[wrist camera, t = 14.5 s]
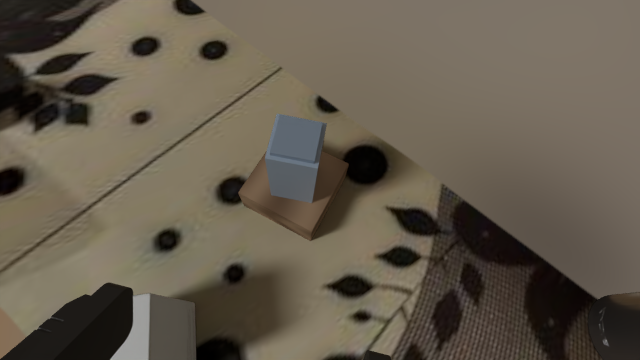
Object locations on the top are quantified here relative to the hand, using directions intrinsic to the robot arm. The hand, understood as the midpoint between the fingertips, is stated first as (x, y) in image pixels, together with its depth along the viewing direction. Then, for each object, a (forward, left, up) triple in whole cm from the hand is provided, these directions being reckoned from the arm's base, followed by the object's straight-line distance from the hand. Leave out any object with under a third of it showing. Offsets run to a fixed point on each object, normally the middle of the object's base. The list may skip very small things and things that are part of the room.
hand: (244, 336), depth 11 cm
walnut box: (+3, -17, -31) cm, 35 cm away
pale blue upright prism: (+3, -16, -26) cm, 31 cm away
